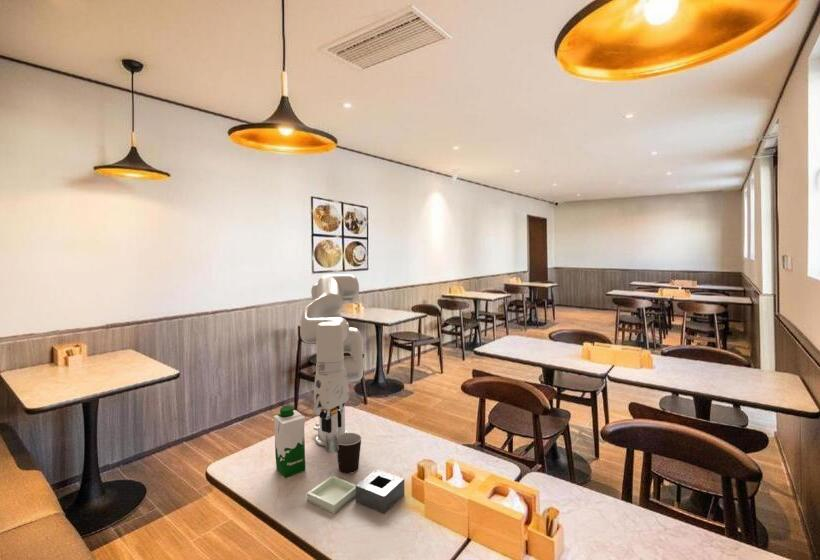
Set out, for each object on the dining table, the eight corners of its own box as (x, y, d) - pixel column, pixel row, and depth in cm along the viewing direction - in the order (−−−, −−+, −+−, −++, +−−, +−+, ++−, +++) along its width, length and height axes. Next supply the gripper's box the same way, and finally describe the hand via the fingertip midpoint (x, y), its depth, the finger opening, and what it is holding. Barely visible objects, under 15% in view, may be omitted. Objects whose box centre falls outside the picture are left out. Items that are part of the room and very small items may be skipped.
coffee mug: (356, 476, 126) (356, 446, 125) (331, 474, 127) (330, 443, 127) (367, 458, 137) (367, 430, 136) (344, 455, 139) (343, 427, 138)
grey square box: (355, 502, 113) (355, 485, 113) (376, 484, 121) (376, 468, 121) (384, 514, 108) (384, 496, 107) (404, 495, 116) (404, 478, 116)
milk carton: (297, 459, 136) (296, 403, 135) (309, 470, 129) (308, 411, 128) (272, 468, 131) (270, 409, 129) (283, 481, 124) (281, 418, 122)
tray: (307, 501, 113) (306, 493, 113) (332, 483, 122) (332, 475, 122) (334, 513, 108) (334, 505, 108) (358, 494, 117) (358, 485, 117)
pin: (323, 450, 113) (322, 409, 112) (332, 445, 116) (331, 405, 115) (332, 453, 111) (331, 411, 111) (341, 448, 114) (340, 407, 114)
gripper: (318, 375, 103) (320, 444, 104) (359, 360, 117) (360, 421, 118) (298, 371, 107) (300, 437, 108) (340, 357, 121) (341, 416, 122)
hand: (331, 428), depth 113 cm, fingers closed on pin, 3 cm apart
